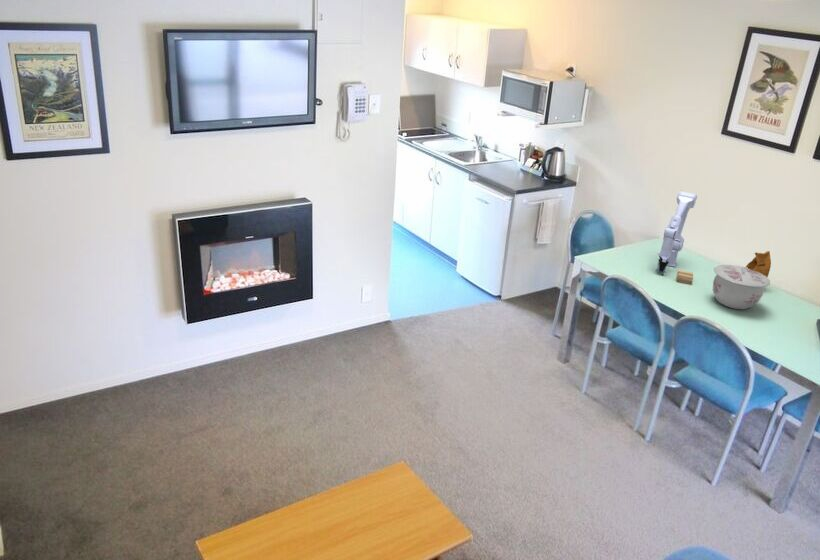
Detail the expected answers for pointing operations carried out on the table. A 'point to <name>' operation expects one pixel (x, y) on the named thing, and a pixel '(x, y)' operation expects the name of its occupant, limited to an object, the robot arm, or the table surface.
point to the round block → (658, 269)
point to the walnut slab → (684, 281)
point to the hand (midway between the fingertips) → (661, 269)
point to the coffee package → (761, 263)
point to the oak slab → (685, 275)
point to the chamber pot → (738, 286)
